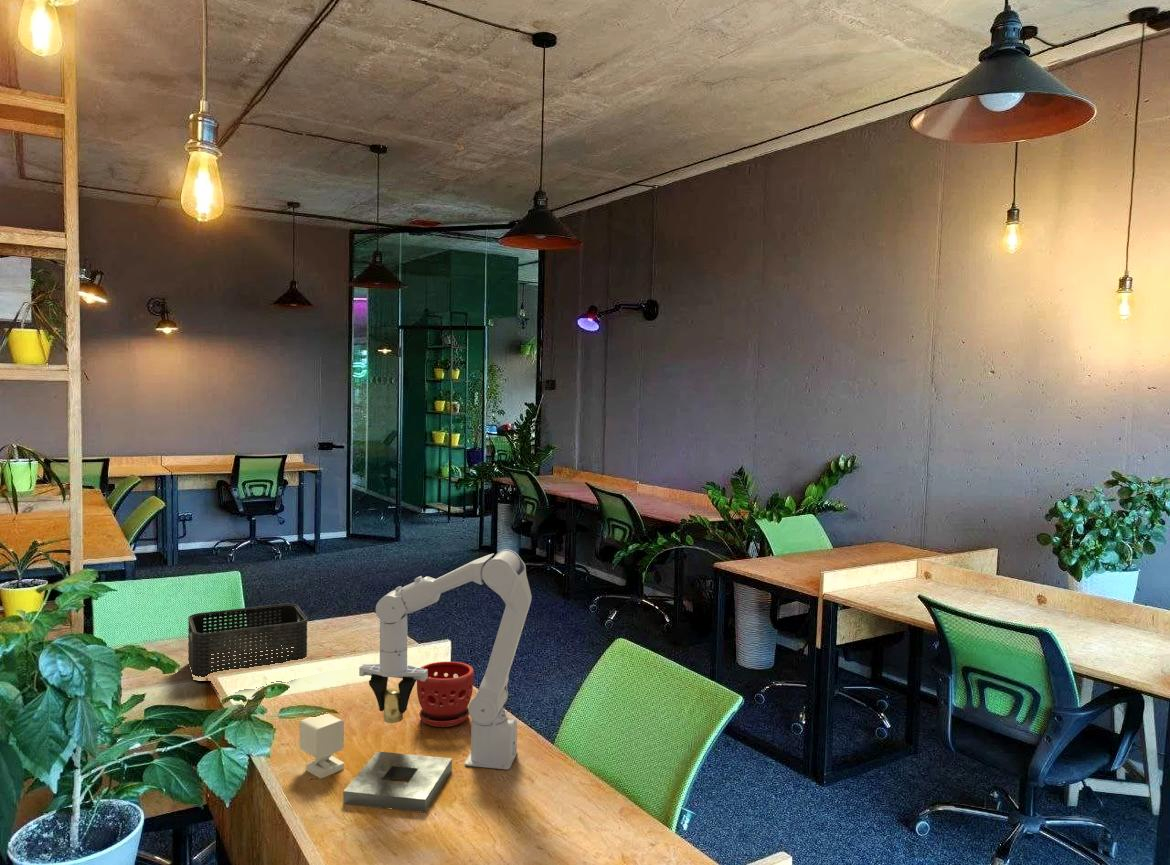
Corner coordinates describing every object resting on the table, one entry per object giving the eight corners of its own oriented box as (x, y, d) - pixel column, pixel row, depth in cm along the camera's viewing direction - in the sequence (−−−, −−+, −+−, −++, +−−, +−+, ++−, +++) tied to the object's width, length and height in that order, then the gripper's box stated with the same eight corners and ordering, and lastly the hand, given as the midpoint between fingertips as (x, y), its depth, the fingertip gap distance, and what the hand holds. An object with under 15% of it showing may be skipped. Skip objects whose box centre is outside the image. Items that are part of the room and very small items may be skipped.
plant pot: (481, 724, 185) (481, 674, 185) (425, 735, 179) (426, 683, 178) (462, 703, 197) (462, 655, 196) (409, 713, 191) (409, 664, 190)
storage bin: (295, 645, 235) (295, 600, 234) (310, 667, 218) (309, 619, 217) (187, 661, 220) (186, 614, 219) (193, 686, 204) (192, 635, 203)
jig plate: (451, 770, 164) (451, 758, 164) (425, 812, 148) (425, 799, 148) (377, 763, 166) (377, 751, 166) (343, 803, 151) (343, 791, 150)
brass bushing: (405, 715, 173) (405, 688, 173) (398, 723, 169) (398, 696, 169) (387, 714, 174) (388, 687, 173) (380, 722, 170) (380, 694, 169)
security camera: (326, 756, 169) (326, 710, 168) (346, 768, 164) (346, 720, 163) (299, 768, 164) (299, 720, 163) (318, 779, 159) (318, 730, 158)
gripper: (432, 644, 173) (432, 705, 174) (368, 639, 175) (368, 699, 176) (421, 655, 166) (420, 719, 167) (355, 650, 168) (354, 713, 169)
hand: (393, 710), depth 171 cm, fingers closed on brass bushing, 4 cm apart
